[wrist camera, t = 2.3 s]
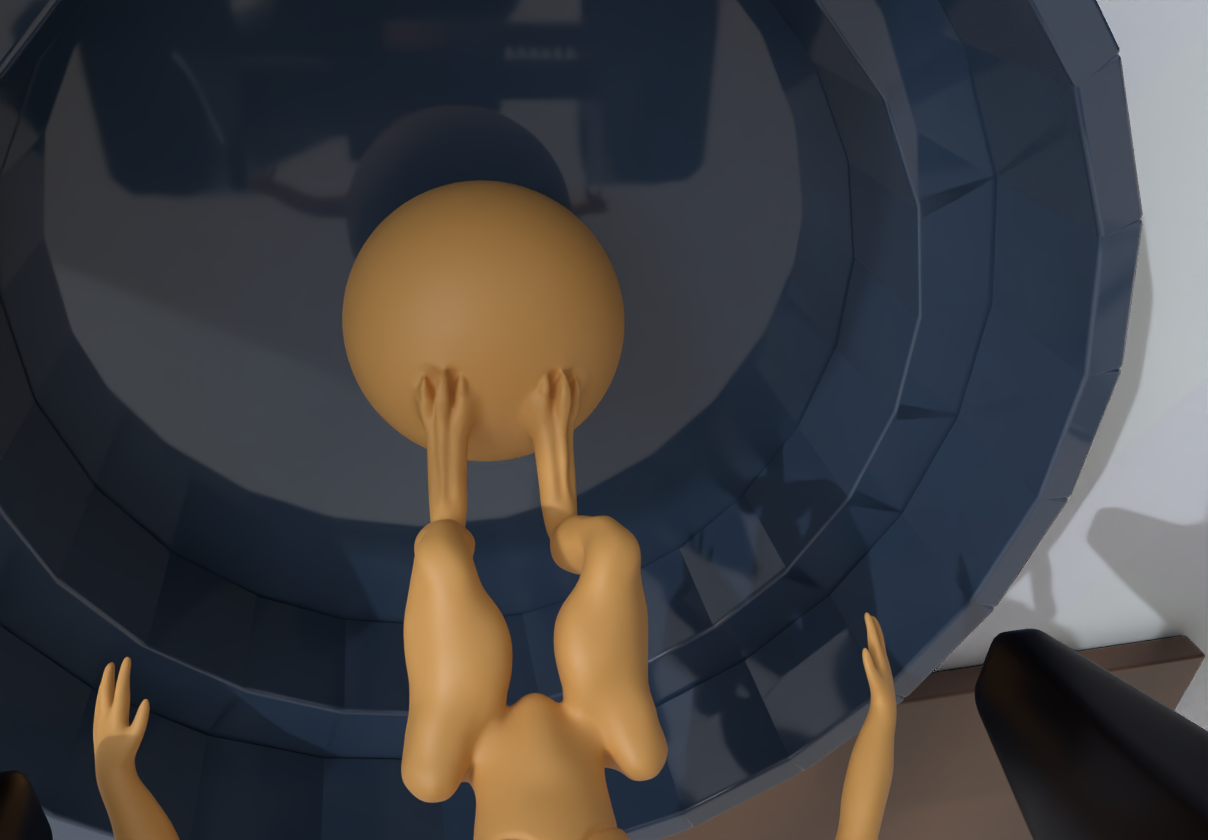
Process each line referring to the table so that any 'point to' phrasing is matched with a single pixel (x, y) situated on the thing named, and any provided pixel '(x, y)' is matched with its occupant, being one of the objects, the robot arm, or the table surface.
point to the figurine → (445, 547)
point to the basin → (604, 439)
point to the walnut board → (938, 762)
